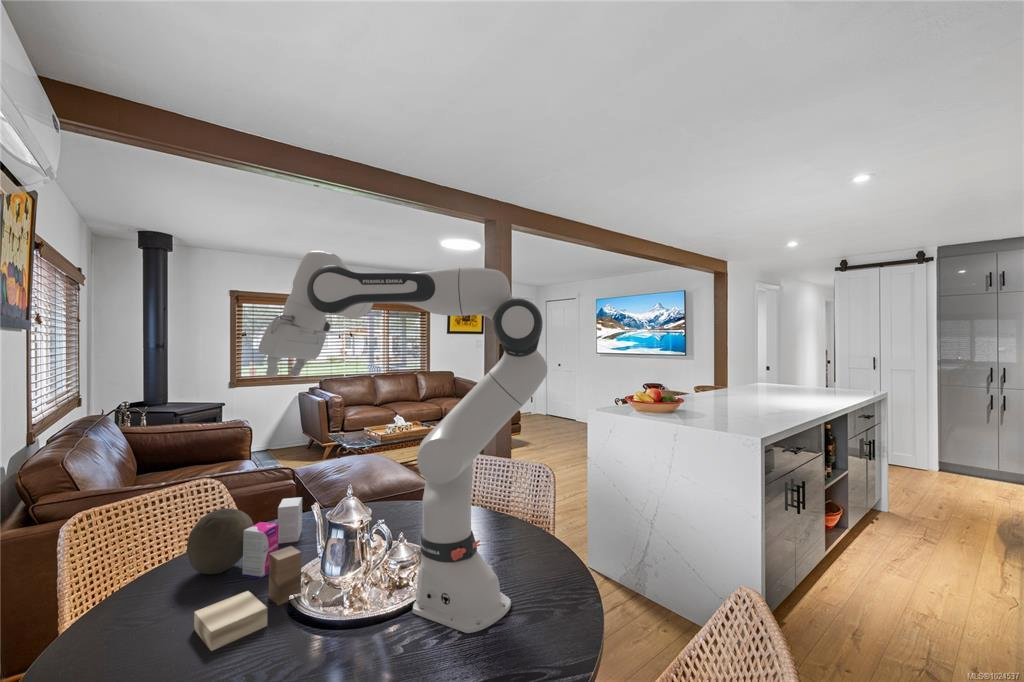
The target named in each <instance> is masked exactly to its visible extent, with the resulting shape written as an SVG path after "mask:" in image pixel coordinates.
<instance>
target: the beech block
mask: <svg viewBox="0 0 1024 682" xmlns="http://www.w3.org/2000/svg"><path fill="white" fill-rule="evenodd" d="M193 621H194V622H193V623H194V625H193V630H194V631H195V632H196V634H197V635H198V636H199V637H200V639H201V640H202V642H203V643H204V644H205V645H206V647H207V648H208V649H209V650H210V651H211V652H213V651H215V650H217V649H219V648H221V647H224V646H226V645H228V644H230V643H233V642H235V641H237V640H240V639H241V638H243V637H245V636H248V635H250V634H252V633H255V632H257V631H259V630H261V629H263V628H265V627H268V607H267V606H266V605H265V604H264V603H263V602H262V601H261V600H259V599H258V597H256V596H255V595H254V594H253V593H252V592H250V591H249V590H246V591H243V592H240V593H238V594H236V595H233V596H231V597H228V598H226V599H223V600H220V601H218V602H216V603H213V604H210V605H208V606H205V607H203V608H201V609H200V608H199V609H198V610H194V612H193Z"/></svg>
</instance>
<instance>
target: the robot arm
mask: <svg viewBox="0 0 1024 682" xmlns="http://www.w3.org/2000/svg"><path fill="white" fill-rule="evenodd" d="M342 260H343V259H342V258H341V257H339V256H338V255H336V254H334V253H330V252H326V251H323V250H312V251H309V252H307V253H306V254H305V255H304V256H303V257H302V260H301V261H300V263H299V265H298V267H297V270H296V273H295V275H294V278H293V281H292V289H291V292H290V294H289V295H288V297H287V298H286V301H285V304H284V307H283V309H282V311H281V313H279V314H278V315H277V316H276V317H274V318H273V319H272V320H271V321H270V322H269V323H268V325H267V326H266V328H265V331H264V333H263V335H262V337H261V340H260V342H259V345H258V352H259V353H260V354H262V355H265V356H267V358H266V361H267V363H266V364H267V368H266V371H265V375H266V376H268V377H273V378H274V377H277V376H278V373H279V371H280V369H278V366H279V364H278V363H280V361H281V359H282V358H286V359H295V364H294V365H293V367H291V368H290V370H289V375H290V376H293V377H300V374H301V372H302V370H303V369H304V367H305V365H307V362H308V360H316V359H318V357H319V356H320V354H321V353H322V350H323V347H324V344H325V341H326V339H327V338H326V337H327V333H330V330H331V329H332V324H331V323H330V322H329V321H328V319H327V317H326V316H327V314H332V315H337V316H340V317H343V318H349V319H359V318H362V317H365V316H367V315H368V313H370V312H371V310H372V309H373V306H374V304H404V305H408V306H412V307H416V308H419V309H422V310H423V311H426V312H428V313H431V314H434V315H439V316H450V317H461V316H465V317H466V316H483V317H486V318H488V319H490V320H491V322H492V326H493V331H494V334H495V337H496V339H497V340H498V341H499V343H500V344H501V347H502V348H503V355H502V356H501V357H500V360H499V361H498V362H497V363H496V364H494V366H493V367H491V369H490V370H489V371H488V372H487V373H486V374H485V375H484V376H483V377H482V378H481V379H480V380H479V381H478V382H477V383H476V384H475V385H474V386H473V387H472V388H471V389H470V390H469V391H468V392H467V393H466V395H465V396H463V398H462V399H461V400H460V401H459V402H458V403H457V404H456V405H455V406H454V407H453V408H452V409H451V410H450V411H449V412H448V413H447V415H445V416H444V418H442V419H441V420H440V422H438V423H437V425H435V427H433V429H431V431H429V432H428V434H427V435H426V436H425V437H424V438H423V439H422V441H421V442H420V443H419V447H418V450H417V454H416V455H417V456H416V463H417V464H416V465H417V468H418V471H419V473H420V474H421V476H422V477H423V478H424V479H425V482H424V491H423V496H422V532H421V534H420V541H419V546H420V554H421V559H420V560H421V561H420V564H419V569H418V574H417V584H416V585H417V586H416V592H415V595H416V601H414V602H413V604H412V610H411V612H412V614H414V615H416V616H418V617H419V616H420V617H422V618H425V619H427V620H429V621H433V622H435V623H438V624H441V625H443V626H446V627H448V628H452V629H454V630H457V631H460V632H463V633H465V634H471V633H472V634H473V633H477V632H480V631H482V630H484V629H487V628H488V627H491V626H492V625H494V624H495V623H497V622H498V621H499V620H500V619H502V618H503V617H504V616H505V615H506V614H507V613H508V612H509V611H510V609H511V607H512V606H511V605H512V601H511V599H510V597H508V596H507V595H505V594H504V593H503V592H501V588H500V581H499V577H498V575H497V574H496V573H495V572H494V568H493V566H492V565H491V564H488V563H487V562H486V560H485V559H484V558H483V556H482V555H481V554H480V552H478V547H479V546H480V545H481V544H480V542H481V540H479V539H478V540H475V539H476V538H475V536H474V532H473V530H472V493H473V492H472V490H473V470H474V467H473V465H474V460H476V458H477V457H478V455H480V454H481V452H482V451H483V450H484V449H485V448H486V446H487V445H488V444H489V443H490V442H491V440H492V439H493V438H494V437H495V436H496V435H497V434H498V432H499V431H500V430H501V429H502V428H503V427H504V426H505V425H506V424H507V423H508V422H509V421H510V419H512V418H513V416H515V414H517V413H518V411H519V410H520V409H521V408H522V407H523V406H524V405H525V404H526V403H527V402H528V401H529V400H530V398H532V396H533V395H534V394H535V393H536V391H537V390H538V389H539V387H540V386H541V384H542V383H543V382H544V380H545V378H546V376H547V375H548V370H549V369H548V364H547V362H546V359H545V358H544V357H543V355H542V354H541V353H540V352H539V351H538V346H539V342H540V337H541V335H542V331H543V316H542V314H541V311H540V310H539V308H538V307H537V306H536V305H535V304H534V303H533V302H531V301H529V300H527V299H524V298H514V297H513V296H512V293H511V285H510V281H509V279H508V277H507V275H506V274H505V273H504V272H502V271H501V270H498V269H493V268H485V267H471V266H470V267H450V268H449V267H447V268H441V269H434V270H433V269H431V270H425V271H414V272H372V273H371V272H369V273H367V272H365V273H363V272H356V271H355V272H354V271H351V270H350V269H349V268H348V267H347V266H346V264H345V263H344V262H343V261H342Z"/></svg>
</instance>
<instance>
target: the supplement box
mask: <svg viewBox="0 0 1024 682" xmlns="http://www.w3.org/2000/svg"><path fill="white" fill-rule="evenodd" d="M278 531H279V524H278V523H271V522H265V521H262V522H261V521H259V522H258V523H256V524H253V526H251V527H249V528H247V529H246V530H244V537H243V557H242V571H241V572H242V577H244V578H253V579H261V580H262V579H263V578H265V577H266V576H267V575H269V553H272V552H275V551H278V550H279V544H278Z"/></svg>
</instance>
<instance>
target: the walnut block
mask: <svg viewBox="0 0 1024 682" xmlns="http://www.w3.org/2000/svg"><path fill="white" fill-rule="evenodd" d="M298 593H301V594H302V552H301V551H300V550H299V549H297V548H296V547H295V546H292V545H289V546H286V547H284V548H281V549H278V551H275V552H272V553H269V574H268V599H270V600H271V601H272V602H273V603H274V604H276V605H277V606H282V605H283V604H285V603H288V602H289V601H288V600H289V596H290V595H293V594H298Z"/></svg>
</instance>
